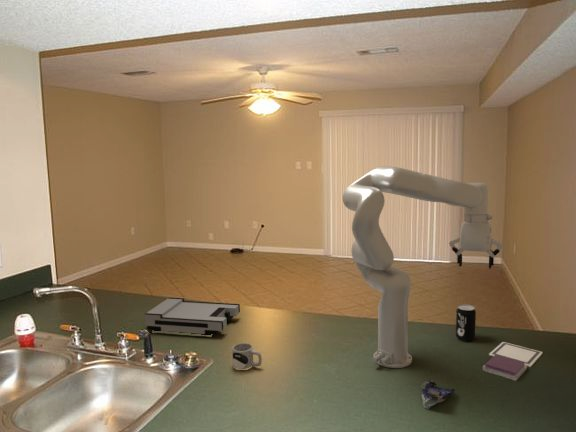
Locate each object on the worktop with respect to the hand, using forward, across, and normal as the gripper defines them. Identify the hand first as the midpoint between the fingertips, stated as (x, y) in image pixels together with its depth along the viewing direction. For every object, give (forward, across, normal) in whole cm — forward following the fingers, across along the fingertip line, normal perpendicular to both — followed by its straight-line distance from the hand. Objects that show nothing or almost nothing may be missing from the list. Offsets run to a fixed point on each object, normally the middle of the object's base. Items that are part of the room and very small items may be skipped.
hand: (475, 266), depth 162 cm
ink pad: (+28, -10, +19) cm, 35 cm away
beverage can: (+28, +3, -2) cm, 28 cm away
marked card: (+28, -14, +6) cm, 32 cm away
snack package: (+27, +7, +44) cm, 53 cm away
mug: (+26, +66, +49) cm, 86 cm away
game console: (+26, +104, +27) cm, 110 cm away
